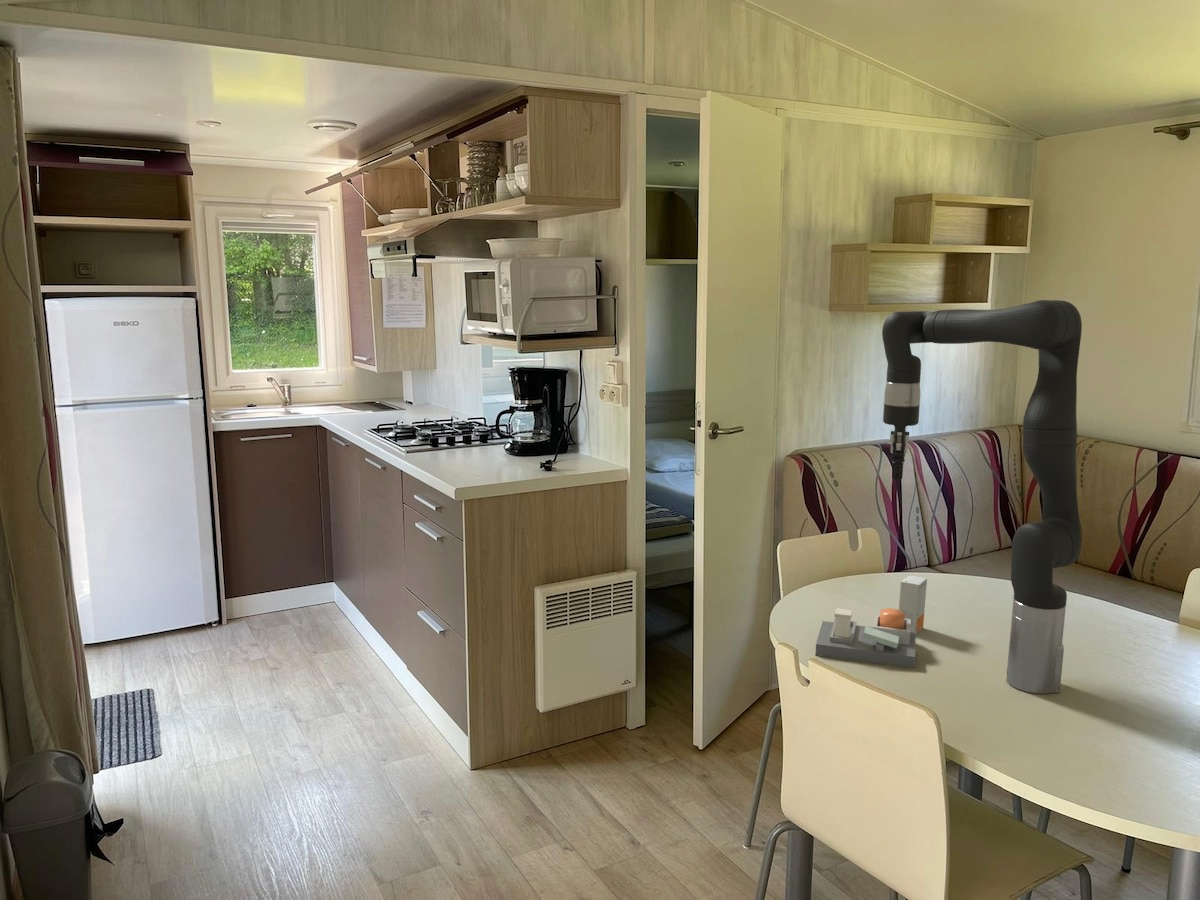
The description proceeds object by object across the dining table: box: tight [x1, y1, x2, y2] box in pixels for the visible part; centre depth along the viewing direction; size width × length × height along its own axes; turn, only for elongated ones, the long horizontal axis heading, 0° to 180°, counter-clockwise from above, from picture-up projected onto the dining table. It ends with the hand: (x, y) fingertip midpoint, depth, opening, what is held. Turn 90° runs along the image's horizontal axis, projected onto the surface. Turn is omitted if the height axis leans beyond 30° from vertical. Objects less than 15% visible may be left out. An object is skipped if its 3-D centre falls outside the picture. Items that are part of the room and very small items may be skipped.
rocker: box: [863, 625, 899, 649], centre depth 189 cm, size 7×4×1 cm, turn 71°
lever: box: [834, 608, 853, 638], centre depth 193 cm, size 3×3×6 cm
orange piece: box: [880, 607, 905, 629], centre depth 194 cm, size 5×5×5 cm
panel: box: [815, 614, 917, 669], centre depth 194 cm, size 20×14×6 cm
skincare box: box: [898, 575, 928, 634], centre depth 204 cm, size 6×4×12 cm
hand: (897, 479), depth 200 cm, fingers closed
